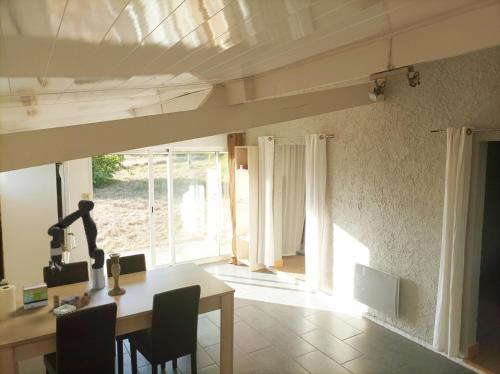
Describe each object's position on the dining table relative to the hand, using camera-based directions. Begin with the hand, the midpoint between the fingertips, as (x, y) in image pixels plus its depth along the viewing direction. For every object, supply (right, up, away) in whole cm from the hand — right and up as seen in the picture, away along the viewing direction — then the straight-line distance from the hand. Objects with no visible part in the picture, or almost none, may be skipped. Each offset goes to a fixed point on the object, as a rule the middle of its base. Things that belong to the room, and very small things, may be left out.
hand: (57, 274), depth 271 cm
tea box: (-14, -22, -4) cm, 26 cm away
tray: (+14, -22, -16) cm, 31 cm away
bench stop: (+21, -21, -5) cm, 30 cm away
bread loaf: (+4, -22, -9) cm, 24 cm away
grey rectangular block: (+10, -21, 0) cm, 23 cm away
